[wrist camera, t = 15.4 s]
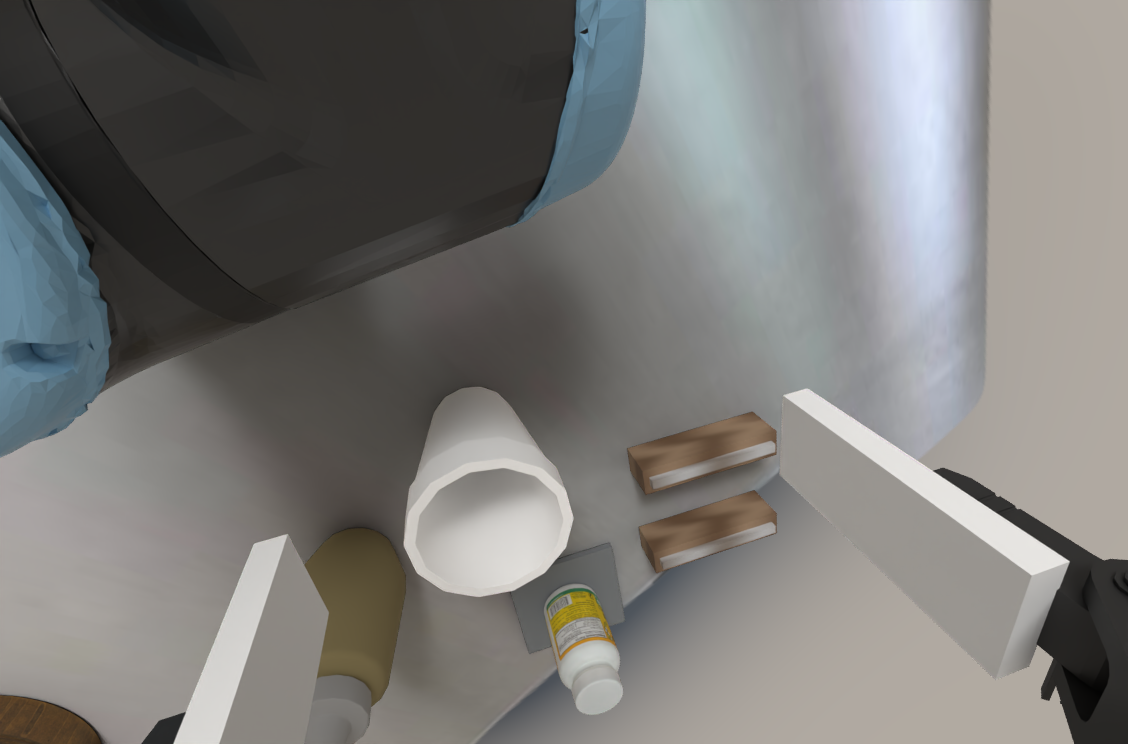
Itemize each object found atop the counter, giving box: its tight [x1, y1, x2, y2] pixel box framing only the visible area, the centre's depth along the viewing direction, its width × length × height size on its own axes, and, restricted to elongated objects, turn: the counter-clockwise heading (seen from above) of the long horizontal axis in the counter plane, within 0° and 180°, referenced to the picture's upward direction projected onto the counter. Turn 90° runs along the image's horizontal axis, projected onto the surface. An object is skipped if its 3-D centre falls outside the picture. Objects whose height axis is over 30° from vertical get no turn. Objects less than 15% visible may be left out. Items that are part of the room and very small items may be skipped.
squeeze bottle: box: [304, 528, 406, 744], centre depth 35 cm, size 8×8×18 cm
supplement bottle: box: [544, 584, 623, 715], centre depth 46 cm, size 5×5×10 cm
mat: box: [510, 543, 625, 654], centre depth 50 cm, size 10×10×1 cm
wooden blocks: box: [627, 412, 777, 573], centre depth 47 cm, size 12×11×4 cm
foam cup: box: [404, 387, 574, 597], centre depth 35 cm, size 10×9×13 cm
